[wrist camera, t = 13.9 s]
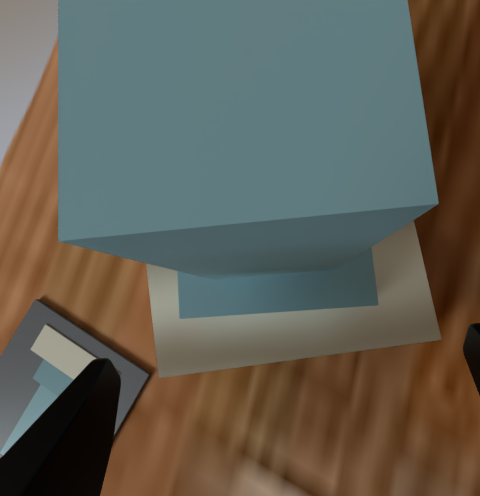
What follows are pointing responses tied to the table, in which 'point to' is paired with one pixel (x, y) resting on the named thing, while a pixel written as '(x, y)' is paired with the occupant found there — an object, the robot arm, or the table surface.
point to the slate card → (53, 370)
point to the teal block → (242, 144)
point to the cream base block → (298, 319)
